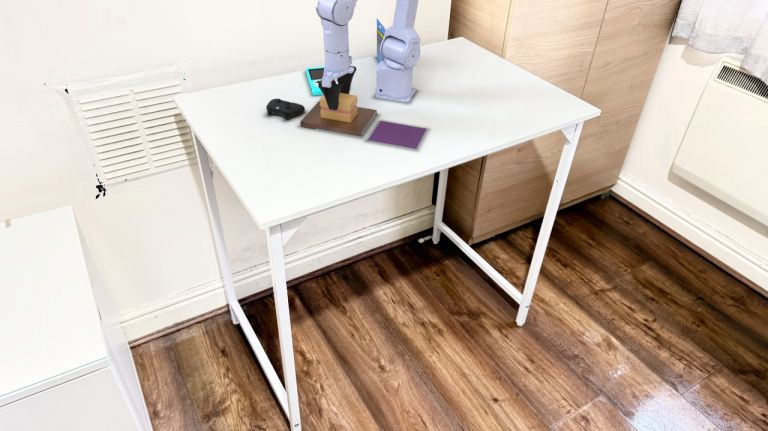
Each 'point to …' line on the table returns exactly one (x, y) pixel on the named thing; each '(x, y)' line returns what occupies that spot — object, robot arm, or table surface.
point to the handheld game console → (316, 79)
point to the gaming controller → (284, 108)
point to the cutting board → (353, 128)
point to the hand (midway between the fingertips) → (338, 102)
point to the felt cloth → (397, 134)
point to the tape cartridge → (380, 39)
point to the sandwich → (340, 108)
